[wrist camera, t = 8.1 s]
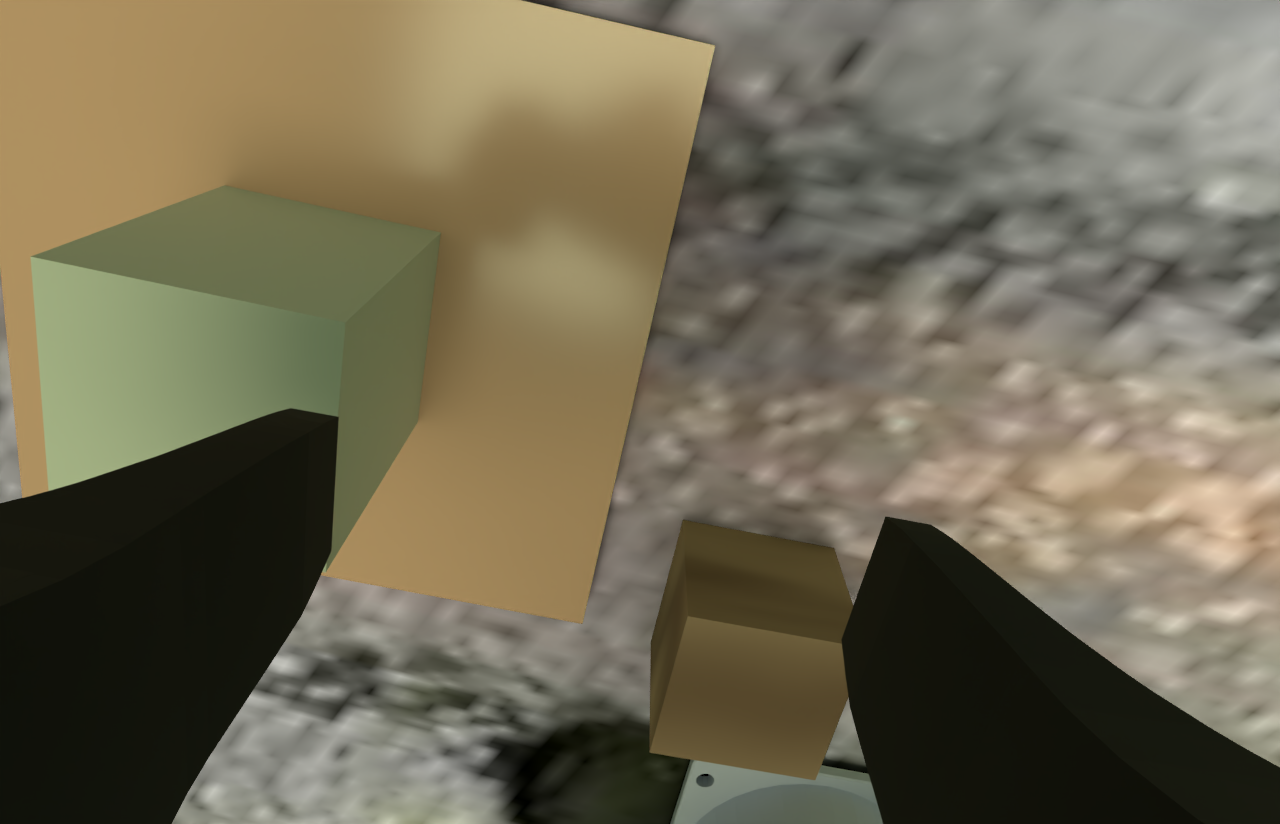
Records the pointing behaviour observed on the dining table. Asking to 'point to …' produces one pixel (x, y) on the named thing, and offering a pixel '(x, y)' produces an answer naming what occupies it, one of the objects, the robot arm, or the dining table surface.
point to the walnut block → (749, 652)
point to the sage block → (234, 334)
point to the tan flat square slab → (402, 193)
